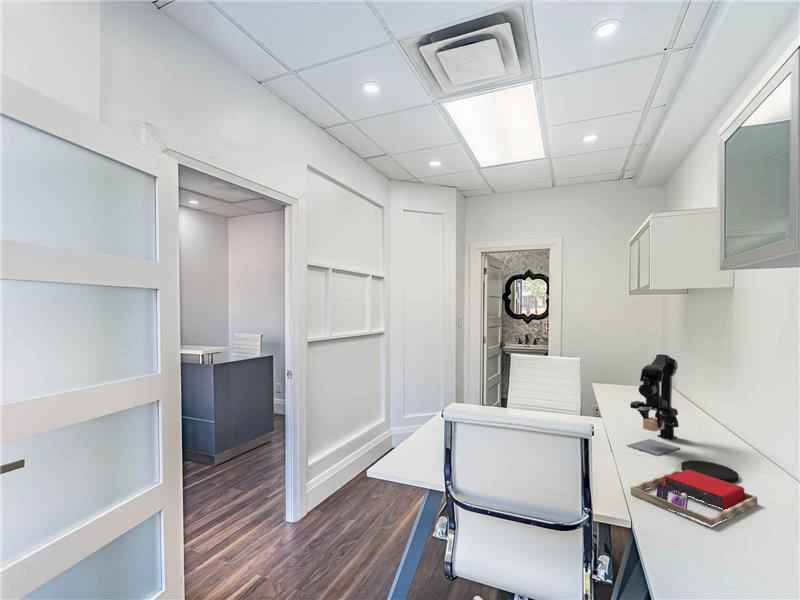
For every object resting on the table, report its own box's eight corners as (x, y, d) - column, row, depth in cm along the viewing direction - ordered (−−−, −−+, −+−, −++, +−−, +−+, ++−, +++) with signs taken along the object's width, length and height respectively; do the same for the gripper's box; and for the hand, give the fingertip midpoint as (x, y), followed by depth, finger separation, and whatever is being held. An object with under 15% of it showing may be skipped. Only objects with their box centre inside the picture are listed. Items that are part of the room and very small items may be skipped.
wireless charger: (742, 474, 153) (741, 469, 153) (734, 488, 141) (733, 483, 141) (687, 461, 167) (687, 457, 167) (676, 473, 155) (675, 468, 155)
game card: (657, 482, 132) (686, 493, 124) (664, 484, 134) (694, 495, 127) (654, 503, 131) (684, 515, 123) (661, 504, 133) (691, 516, 125)
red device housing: (665, 490, 141) (664, 476, 141) (686, 481, 148) (686, 468, 148) (723, 512, 125) (723, 497, 125) (744, 502, 132) (744, 487, 132)
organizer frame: (677, 476, 151) (677, 470, 151) (757, 504, 129) (757, 496, 130) (630, 494, 138) (630, 487, 138) (711, 528, 116) (711, 520, 116)
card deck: (643, 428, 183) (643, 419, 183) (653, 426, 186) (653, 416, 187) (654, 431, 178) (653, 421, 179) (664, 428, 182) (664, 419, 182)
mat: (649, 440, 193) (649, 438, 193) (680, 448, 180) (680, 447, 180) (627, 446, 185) (626, 445, 185) (657, 456, 172) (657, 454, 172)
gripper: (683, 395, 178) (684, 429, 178) (642, 388, 195) (643, 419, 194) (670, 398, 173) (671, 433, 173) (629, 390, 190) (630, 422, 189)
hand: (653, 426), depth 182 cm, fingers closed on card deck, 5 cm apart
